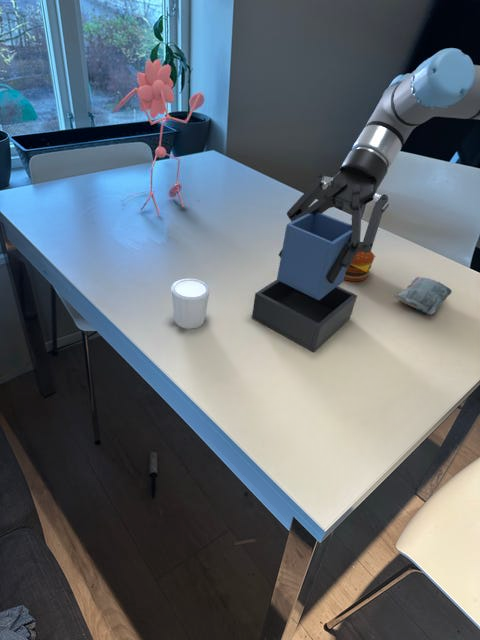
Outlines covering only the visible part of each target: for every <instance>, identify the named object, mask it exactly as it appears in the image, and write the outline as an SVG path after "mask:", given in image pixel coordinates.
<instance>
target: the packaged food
mask: <svg viewBox="0 0 480 640" xmlns="http://www.w3.org/2000/svg"><path fill="white" fill-rule="evenodd" d="M452 291H453V290H452V289H451V288H450V287H448V286H446V285H444V284H443V283H442V282H440V281H437V280H436V279H435V280H434V279H432V278H429V277H428V278H426V277H423V276H413V277H412V282H411V283H410V284H409V285H408V286H407V287H406V288H404V289H403V290H402V291H400V292H398V293H397V294H393V297H394V298H395V299H398V300H399V301H400V302H402V303H404V304H406V305H408V306H410V307H411V308H413V309H416V310H418V311H420V312H422V313H424V314H426V315H429V316H433V315H434V314H435V313H436V311H437V310H438V309H439V308H440V306H441V305H442V303H443V302H444V301H445V300H447V298H448V297H449V296H450V295H451V294H452Z"/></svg>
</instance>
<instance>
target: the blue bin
mask: <svg viewBox="0 0 480 640" xmlns="http://www.w3.org/2000/svg"><path fill="white" fill-rule="evenodd" d="M351 227H352V224H350V223H347V222H345V221H342V220H340V219H337V218H334V217H332V216H329V215H327V214H325V213H320V212H318V213H316V215H315V216H314V215H313V214H306V215H304V216H302V217H300V218H298V219H296V220H294V221H292V222H291V221H290V222H288V223H287V224H286V227H285V231H284V232H285V233H284V237H283V243H282V248H281V250H282V254H281V258H280V260H279V264H278V265H279V266H278V271H277V277H276V280H278V281H280V282H283V283H285V284H287V285H289V286H291V287H293V288H295V289H297V290H299V291H301V292H303V293H305V294H307V295H309V296H311V297H313V298H315V299H317V300H320V299H321V298H323V297H324V296H325V295H327V294H328V293H329V292H330V291H332V290H333V289H334V288H335V287H337V286H338V287H339V285H341V284H342V283H343V282H344V281H345V280H344V277H345V273H346V270H347V268H345V267H342V269H341V270H340V272H339V274H338V276H337V277H336V279H335V281H334V282H333V284H332V283H329V282H328V280H327V278H326V276H327V274H328V272H329V271H330V269H331V267H332V266H333V264H334V262H335V260H336V259H337V257H338V255H339V254H340V252H341V250H342V249H343V247H344V245H345V244H347V245H349V246H350V245H351V244H350V242H351V234H352V232H353V231H351Z"/></svg>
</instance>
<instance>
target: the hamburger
mask: <svg viewBox="0 0 480 640" xmlns="http://www.w3.org/2000/svg"><path fill="white" fill-rule="evenodd" d="M376 257H377V256H376V255H375V254H374V252H372V251H371V252H370V253H365V252H358V253H357V254H356V255H355V257H354V259H353V261H352V262H351V264H350V266H349V267H347V270H346V273H345V277H344V280H343V281H348V282H361V281H364V280H366V279H367V278H368V277H369V273H370V269H371V268H372V264H373V262H374V260H375V258H376Z"/></svg>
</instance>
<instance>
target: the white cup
mask: <svg viewBox="0 0 480 640" xmlns="http://www.w3.org/2000/svg"><path fill="white" fill-rule="evenodd" d="M170 290H171V300H172V308H173V320H174V323H175V324H176V325H177V326H179V327H180V328H182V329H187V330H189V329H190V330H191V329H197V328H199V327H201V326H203V325H204V323H205V319H206V313H207V308H208V302H209V298H210V292H211V290H210V286H209V285H208V284H207V283H206V282H204V281H202V280H200V279H196V278H182V279H179V280H177V281H175V282H173V284H172V285H171V287H170Z"/></svg>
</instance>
